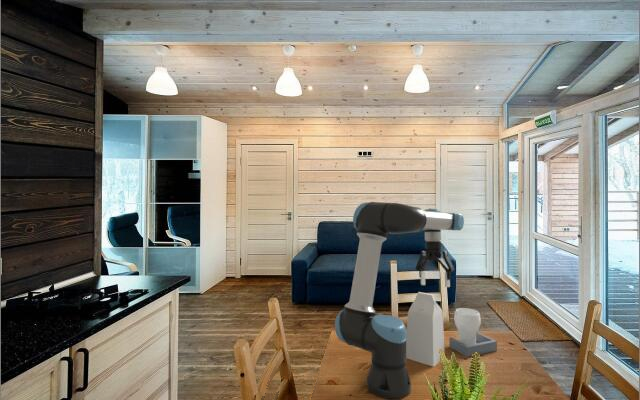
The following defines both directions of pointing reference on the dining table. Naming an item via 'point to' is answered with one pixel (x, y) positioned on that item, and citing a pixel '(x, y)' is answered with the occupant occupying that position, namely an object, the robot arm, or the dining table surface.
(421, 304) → the milk
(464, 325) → the cup
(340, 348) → the dining table surface
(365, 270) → the robot arm
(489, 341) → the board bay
